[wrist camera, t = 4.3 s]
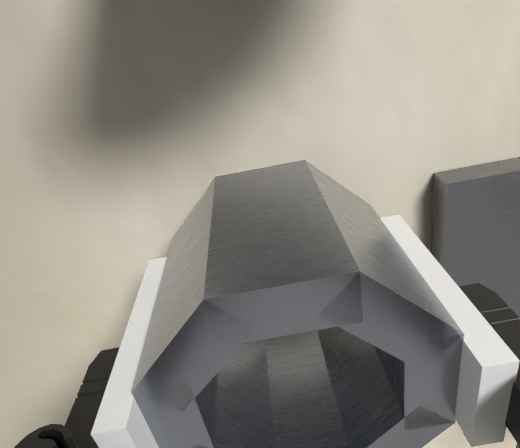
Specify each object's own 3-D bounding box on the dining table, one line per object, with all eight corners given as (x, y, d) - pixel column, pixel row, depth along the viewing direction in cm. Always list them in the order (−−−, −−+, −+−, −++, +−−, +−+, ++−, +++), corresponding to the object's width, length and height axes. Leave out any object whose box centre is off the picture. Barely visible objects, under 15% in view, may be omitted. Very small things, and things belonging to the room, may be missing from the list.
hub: (153, 188, 13) (94, 319, 8) (368, 148, 13) (472, 250, 7) (205, 344, 17) (191, 513, 11) (375, 314, 17) (450, 470, 11)
